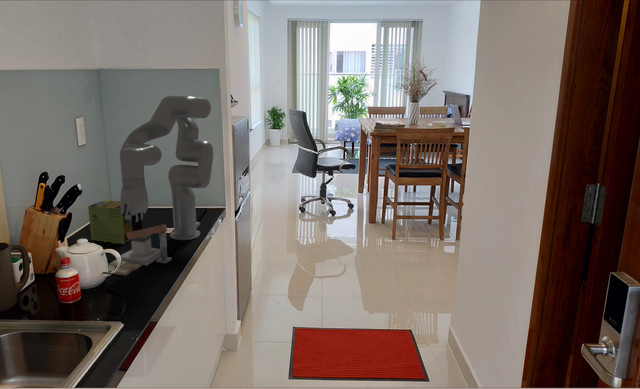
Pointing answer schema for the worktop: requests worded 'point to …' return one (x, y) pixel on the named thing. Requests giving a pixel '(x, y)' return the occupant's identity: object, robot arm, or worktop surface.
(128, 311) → the worktop surface
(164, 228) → the clip
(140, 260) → the socket block
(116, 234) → the protein box
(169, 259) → the clip post
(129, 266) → the birch board
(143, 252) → the plug
